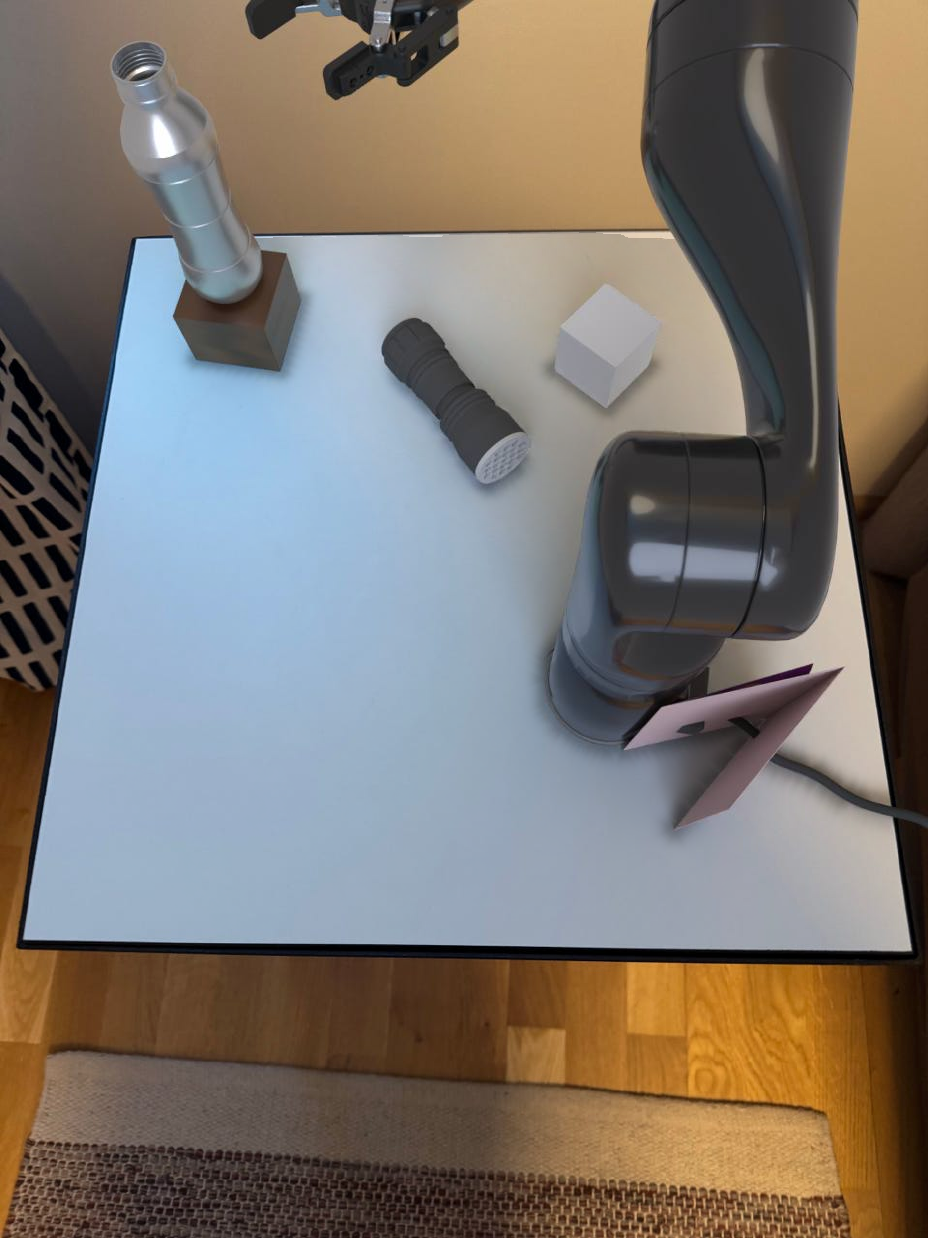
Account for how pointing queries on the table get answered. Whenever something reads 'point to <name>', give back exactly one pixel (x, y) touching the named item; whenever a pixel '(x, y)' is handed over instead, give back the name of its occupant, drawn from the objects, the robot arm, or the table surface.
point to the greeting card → (763, 698)
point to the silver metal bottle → (184, 174)
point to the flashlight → (455, 401)
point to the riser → (243, 320)
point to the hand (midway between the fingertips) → (288, 54)
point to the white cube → (606, 345)
